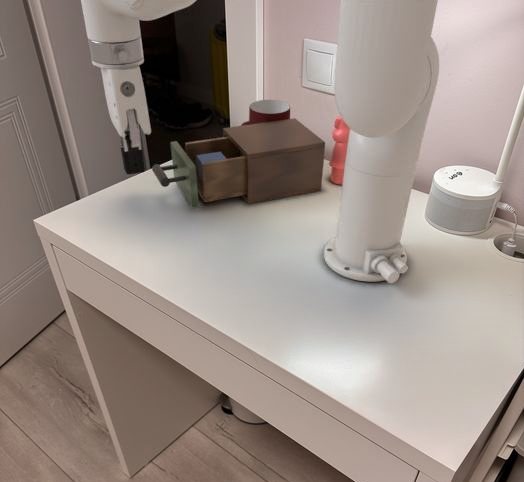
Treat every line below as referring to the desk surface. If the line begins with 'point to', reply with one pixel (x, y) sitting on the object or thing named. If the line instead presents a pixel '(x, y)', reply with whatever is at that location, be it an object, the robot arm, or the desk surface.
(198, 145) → the drawer
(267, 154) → the cabinet
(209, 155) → the block
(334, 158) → the figurine
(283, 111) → the mug
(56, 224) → the desk surface
